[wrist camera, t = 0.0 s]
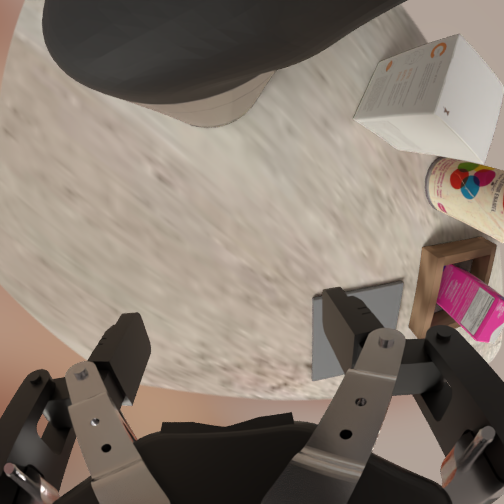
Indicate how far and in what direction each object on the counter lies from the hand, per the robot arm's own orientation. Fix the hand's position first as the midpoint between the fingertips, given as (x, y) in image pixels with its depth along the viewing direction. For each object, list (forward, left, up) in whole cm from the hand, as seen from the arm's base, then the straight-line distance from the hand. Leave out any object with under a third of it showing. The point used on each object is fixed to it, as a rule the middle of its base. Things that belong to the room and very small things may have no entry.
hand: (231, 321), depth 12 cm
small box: (-10, +18, -17) cm, 27 cm away
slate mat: (+18, +14, -17) cm, 28 cm away
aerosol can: (-1, +26, -17) cm, 31 cm away
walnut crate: (+13, +29, -17) cm, 36 cm away
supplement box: (+13, +29, -17) cm, 36 cm away
